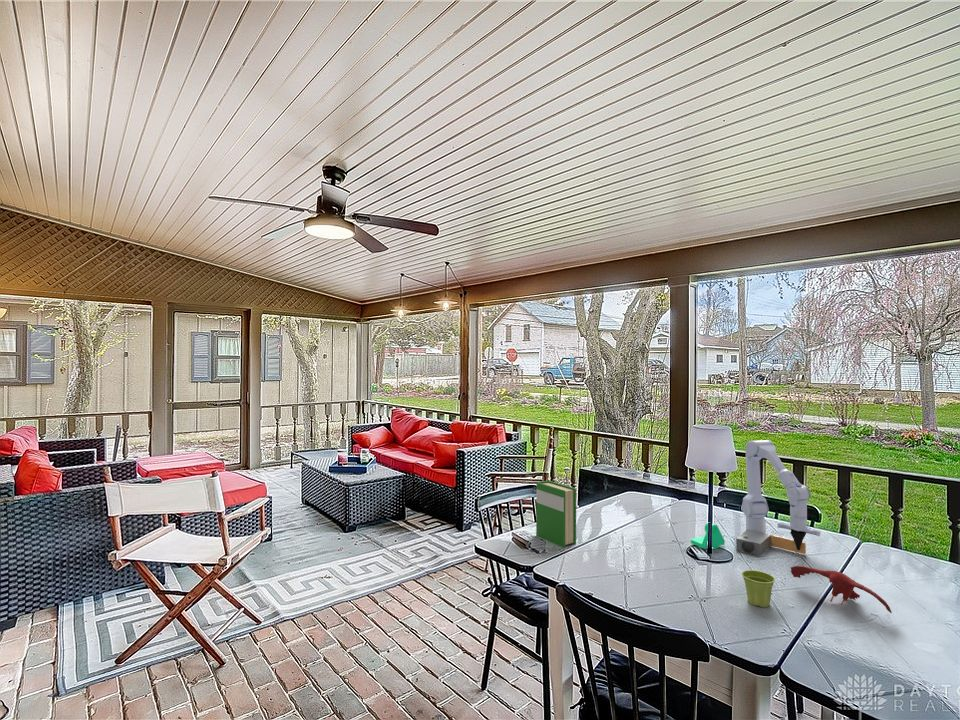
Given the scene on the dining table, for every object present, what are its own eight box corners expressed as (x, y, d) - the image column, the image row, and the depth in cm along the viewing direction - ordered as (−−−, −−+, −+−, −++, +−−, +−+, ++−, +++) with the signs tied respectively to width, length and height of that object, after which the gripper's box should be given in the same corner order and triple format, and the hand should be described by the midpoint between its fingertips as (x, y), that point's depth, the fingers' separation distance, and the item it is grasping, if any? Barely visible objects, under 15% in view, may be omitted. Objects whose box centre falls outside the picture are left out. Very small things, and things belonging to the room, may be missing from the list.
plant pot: (759, 612, 149) (759, 584, 149) (735, 598, 158) (735, 571, 158) (782, 608, 151) (782, 580, 151) (757, 594, 160) (757, 568, 160)
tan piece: (770, 545, 203) (770, 535, 203) (771, 544, 204) (771, 534, 205) (805, 554, 194) (805, 543, 194) (806, 553, 195) (806, 542, 195)
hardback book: (576, 544, 205) (576, 488, 206) (563, 547, 201) (563, 490, 202) (548, 532, 220) (548, 480, 221) (536, 535, 216) (536, 482, 216)
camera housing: (747, 540, 211) (747, 527, 211) (771, 546, 204) (771, 532, 205) (735, 550, 199) (735, 537, 199) (759, 557, 192) (759, 543, 192)
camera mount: (709, 541, 210) (709, 517, 211) (724, 547, 203) (724, 522, 204) (689, 545, 205) (689, 521, 206) (704, 551, 198) (704, 526, 199)
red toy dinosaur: (797, 596, 168) (780, 570, 163) (808, 575, 171) (791, 549, 166) (896, 637, 143) (879, 608, 138) (907, 611, 146) (890, 581, 141)
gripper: (775, 514, 197) (775, 547, 197) (817, 522, 187) (818, 557, 187) (779, 510, 202) (780, 542, 202) (821, 518, 192) (821, 552, 192)
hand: (798, 549), depth 194 cm, fingers closed, pressing on tan piece
